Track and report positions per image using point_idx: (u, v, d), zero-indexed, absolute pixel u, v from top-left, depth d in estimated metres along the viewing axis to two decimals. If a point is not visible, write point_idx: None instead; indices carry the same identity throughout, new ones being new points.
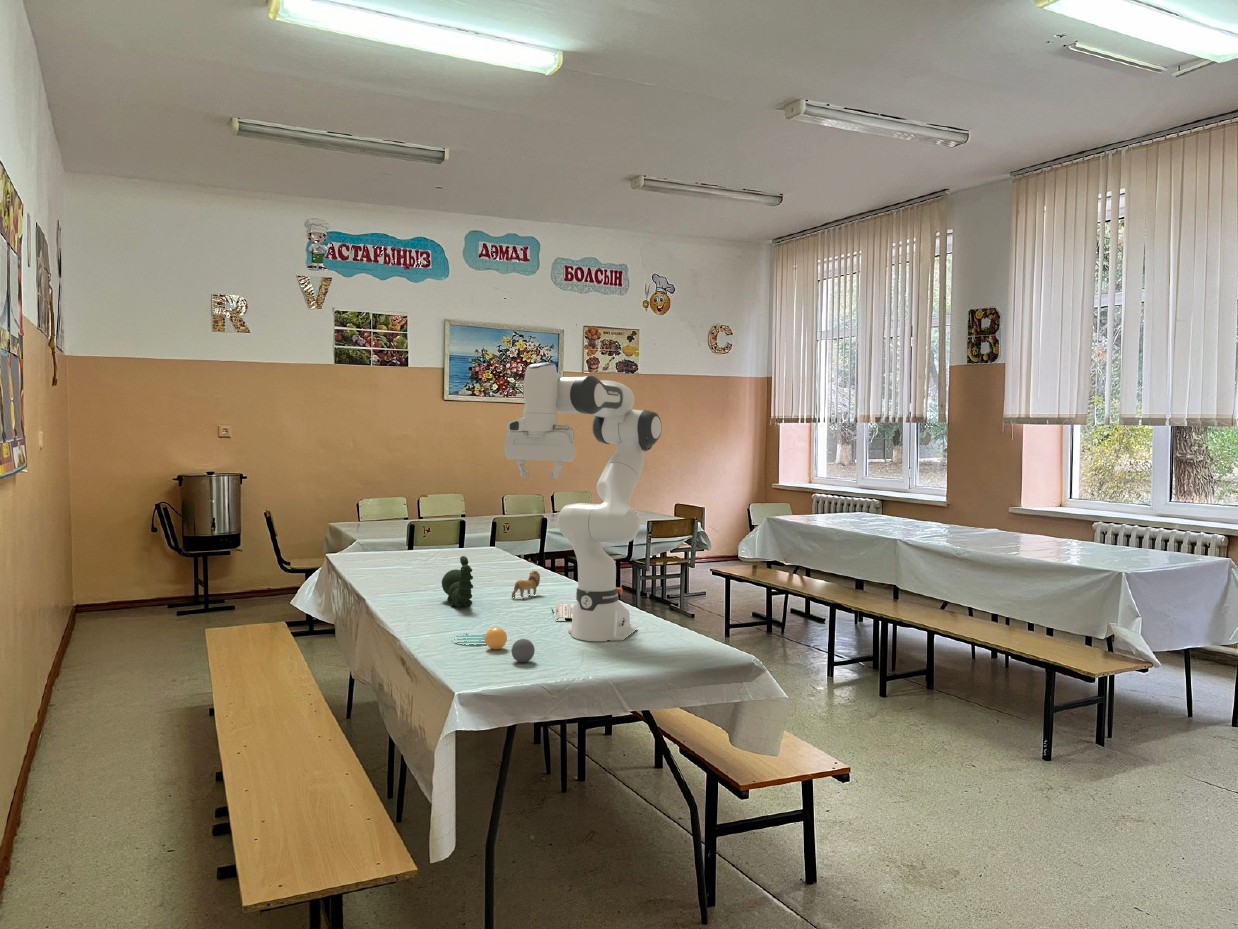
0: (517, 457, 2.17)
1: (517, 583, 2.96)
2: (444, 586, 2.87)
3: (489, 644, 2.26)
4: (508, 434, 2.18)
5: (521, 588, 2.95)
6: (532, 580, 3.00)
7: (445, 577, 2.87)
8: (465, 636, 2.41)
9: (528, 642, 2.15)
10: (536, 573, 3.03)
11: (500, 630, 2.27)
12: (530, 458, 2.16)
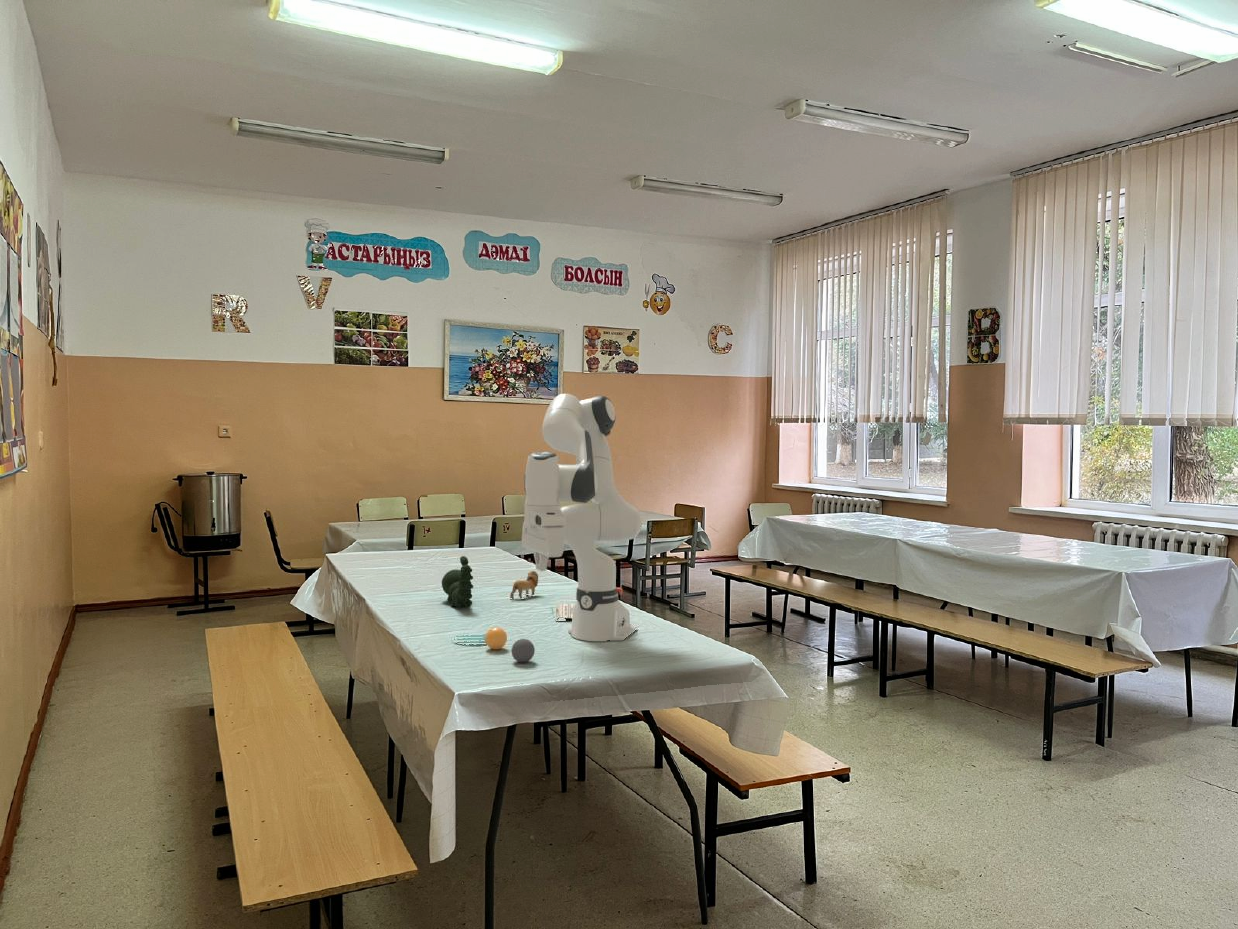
0: None
1: (515, 583, 2.95)
2: (444, 586, 2.87)
3: (489, 644, 2.26)
4: None
5: (519, 588, 2.95)
6: (530, 580, 2.99)
7: (445, 577, 2.87)
8: (465, 636, 2.41)
9: (528, 642, 2.15)
10: (535, 573, 3.02)
11: (500, 630, 2.27)
12: None
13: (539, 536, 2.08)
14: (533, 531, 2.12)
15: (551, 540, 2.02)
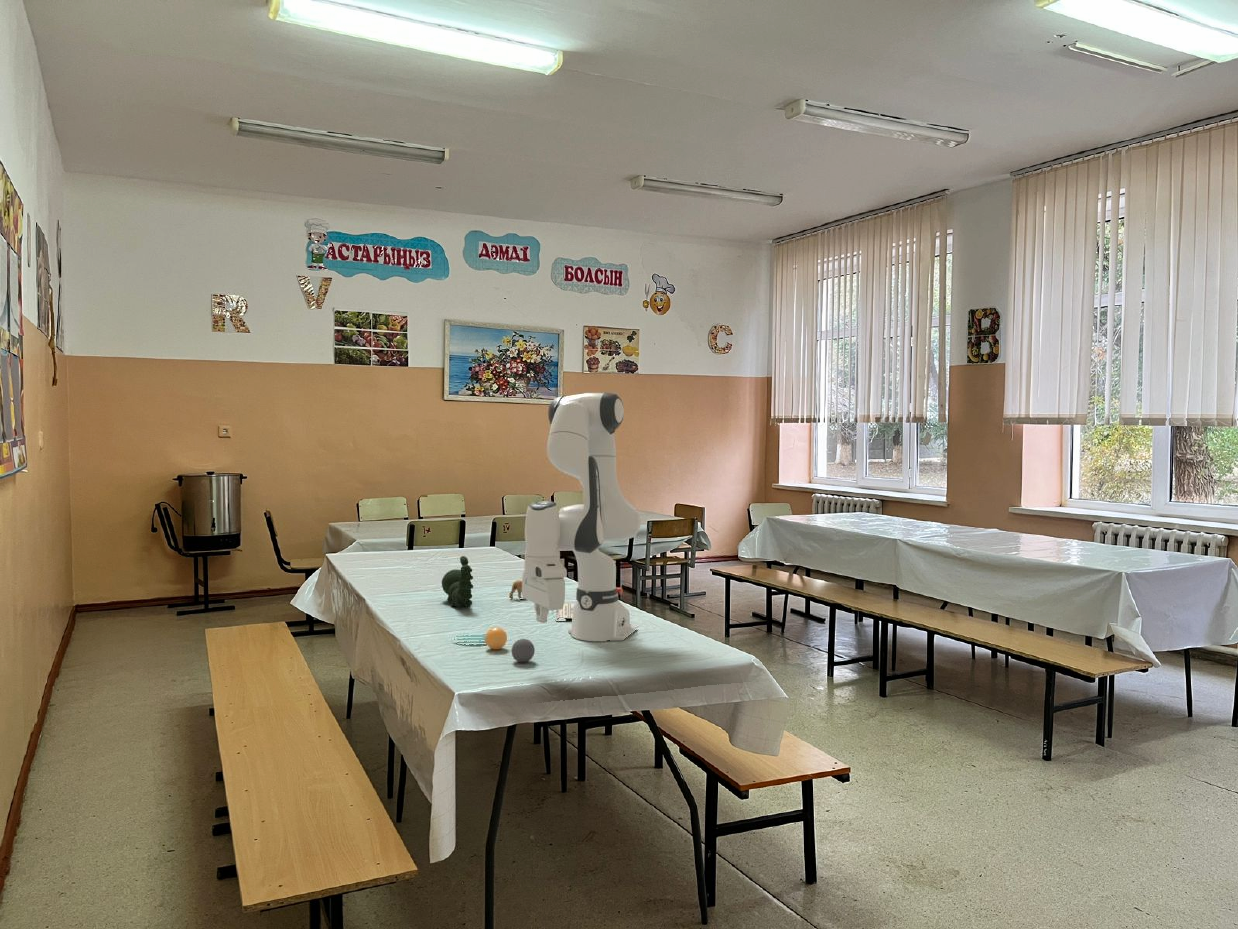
0: None
1: (515, 584, 2.94)
2: (444, 586, 2.87)
3: (489, 644, 2.26)
4: None
5: (519, 589, 2.94)
6: None
7: (445, 577, 2.87)
8: (465, 636, 2.41)
9: (528, 642, 2.15)
10: None
11: (500, 630, 2.27)
12: None
13: (539, 588, 2.05)
14: (533, 582, 2.09)
15: (552, 592, 1.99)
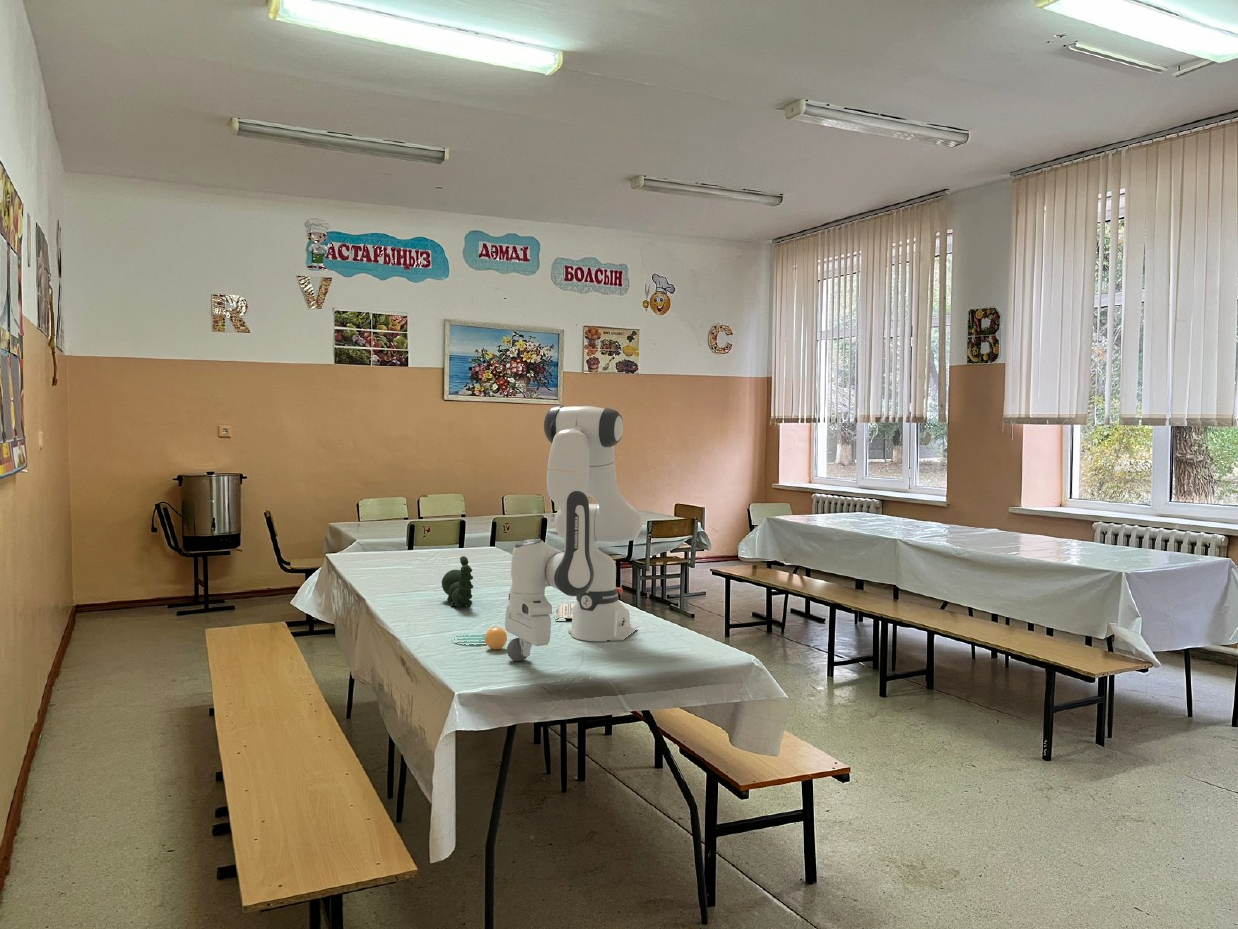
0: None
1: None
2: (444, 586, 2.87)
3: (489, 644, 2.26)
4: None
5: None
6: None
7: (445, 577, 2.87)
8: (465, 636, 2.41)
9: None
10: None
11: (500, 630, 2.27)
12: None
13: (525, 623, 2.12)
14: (518, 617, 2.15)
15: (538, 629, 2.05)
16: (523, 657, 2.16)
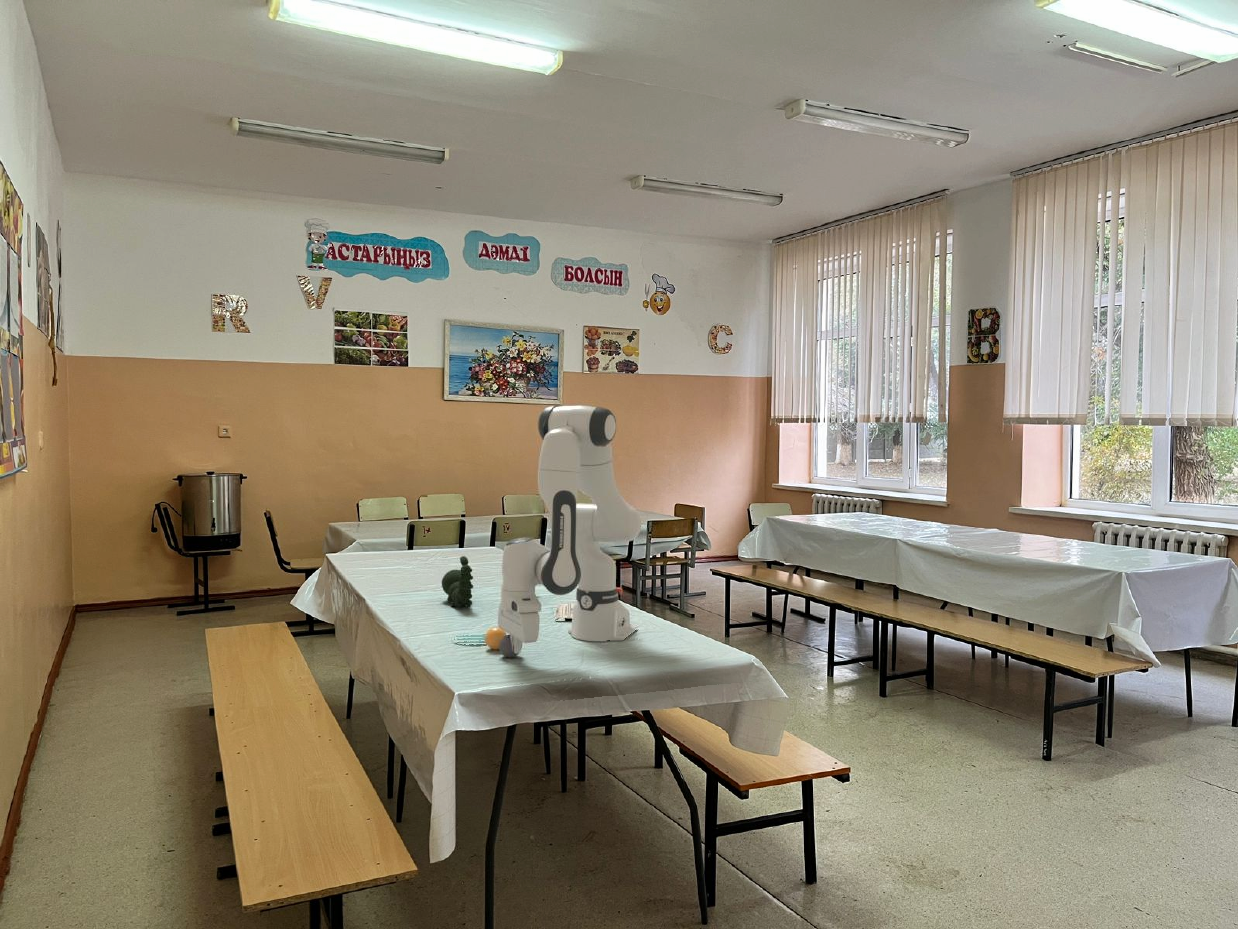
0: None
1: None
2: (444, 586, 2.87)
3: (489, 644, 2.26)
4: None
5: None
6: None
7: (445, 577, 2.87)
8: (465, 636, 2.41)
9: None
10: None
11: (500, 630, 2.27)
12: None
13: (515, 620, 2.15)
14: (509, 614, 2.18)
15: (527, 626, 2.08)
16: (514, 653, 2.19)
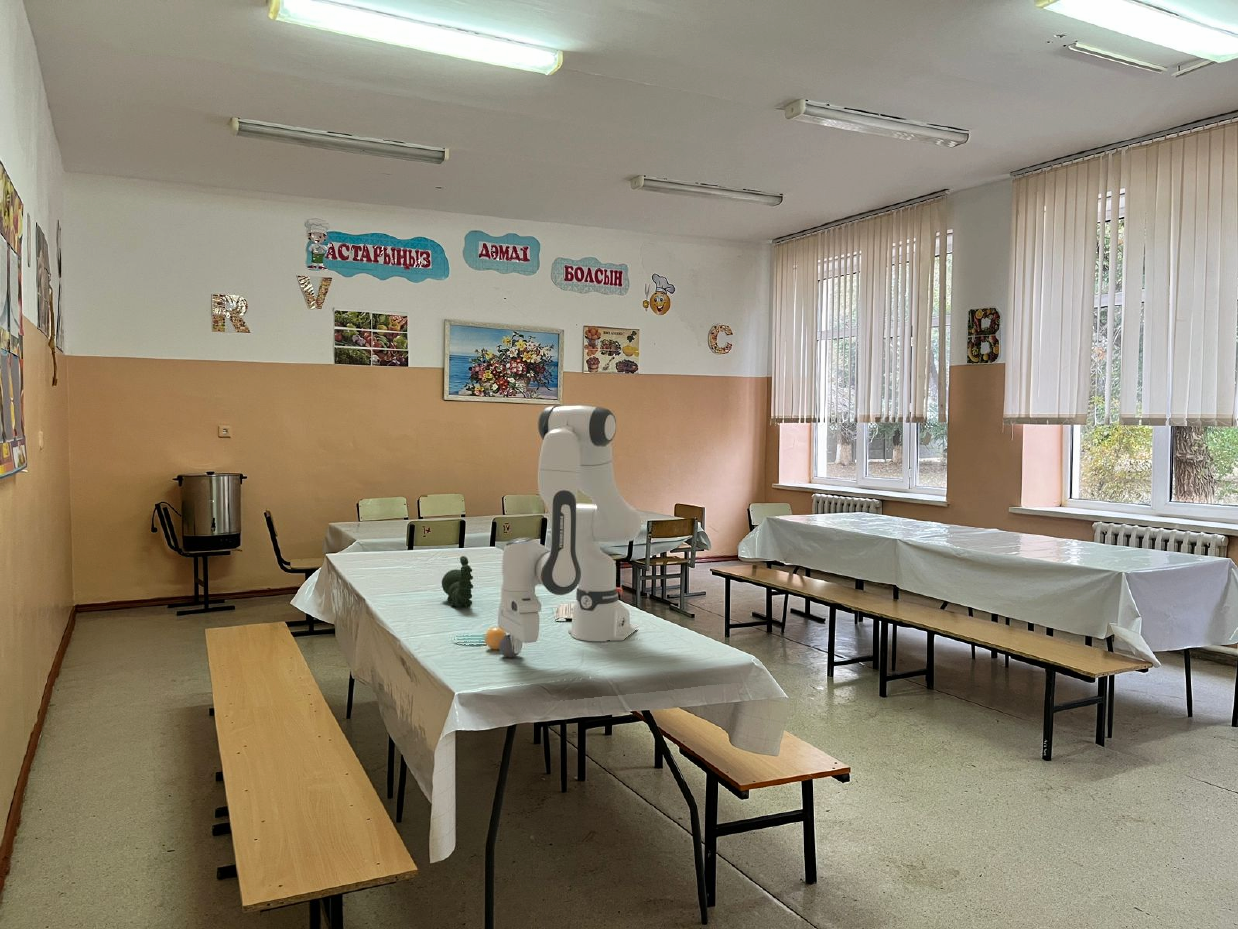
0: None
1: None
2: (444, 586, 2.87)
3: (489, 644, 2.26)
4: None
5: None
6: None
7: (445, 577, 2.87)
8: (465, 636, 2.41)
9: None
10: None
11: (500, 630, 2.27)
12: None
13: (515, 620, 2.15)
14: (509, 614, 2.18)
15: (526, 626, 2.08)
16: (514, 653, 2.19)
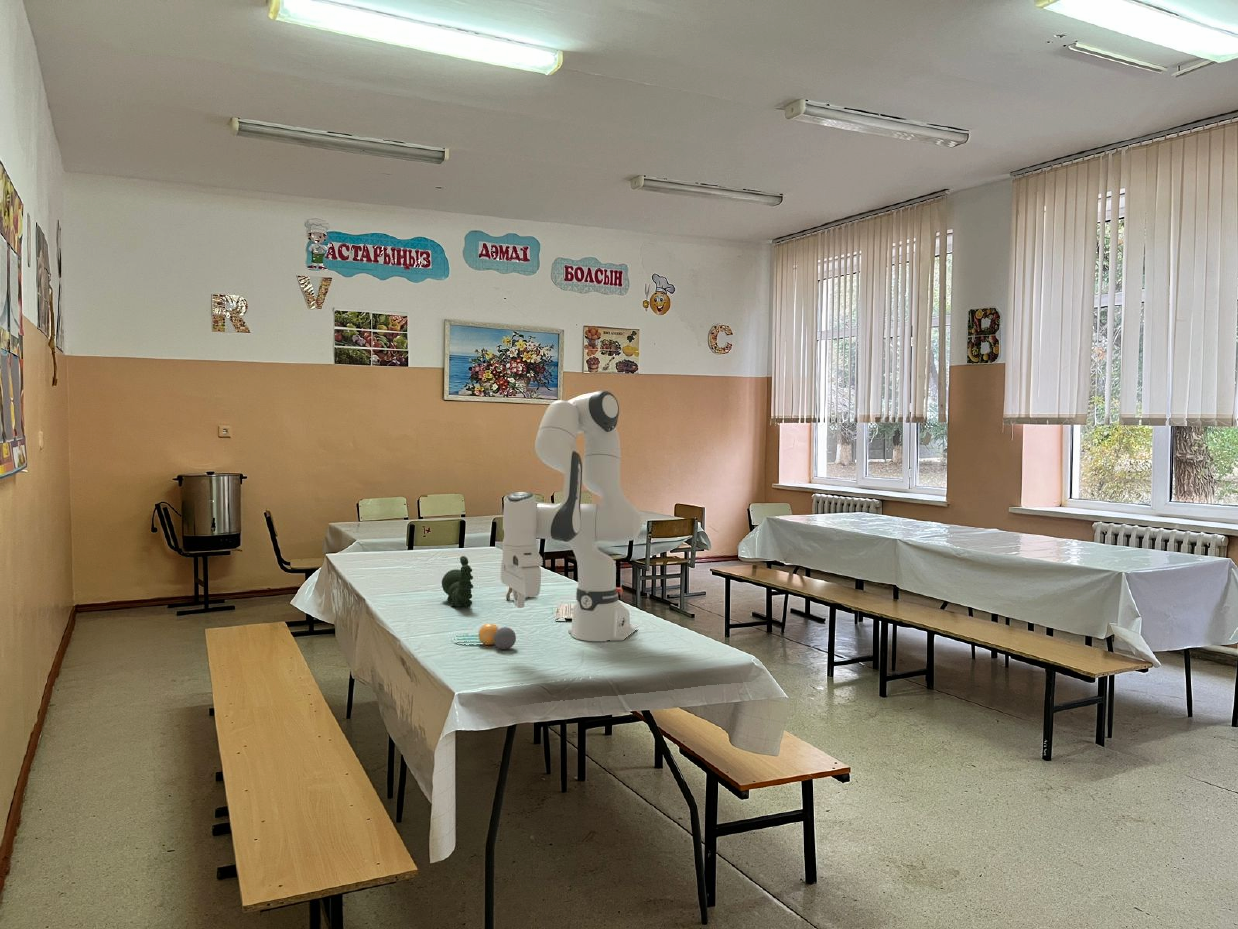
0: None
1: None
2: (444, 586, 2.87)
3: (482, 631, 2.31)
4: None
5: None
6: None
7: (445, 577, 2.87)
8: (465, 636, 2.41)
9: None
10: None
11: None
12: None
13: (517, 575, 2.15)
14: (511, 569, 2.19)
15: (528, 580, 2.09)
16: None
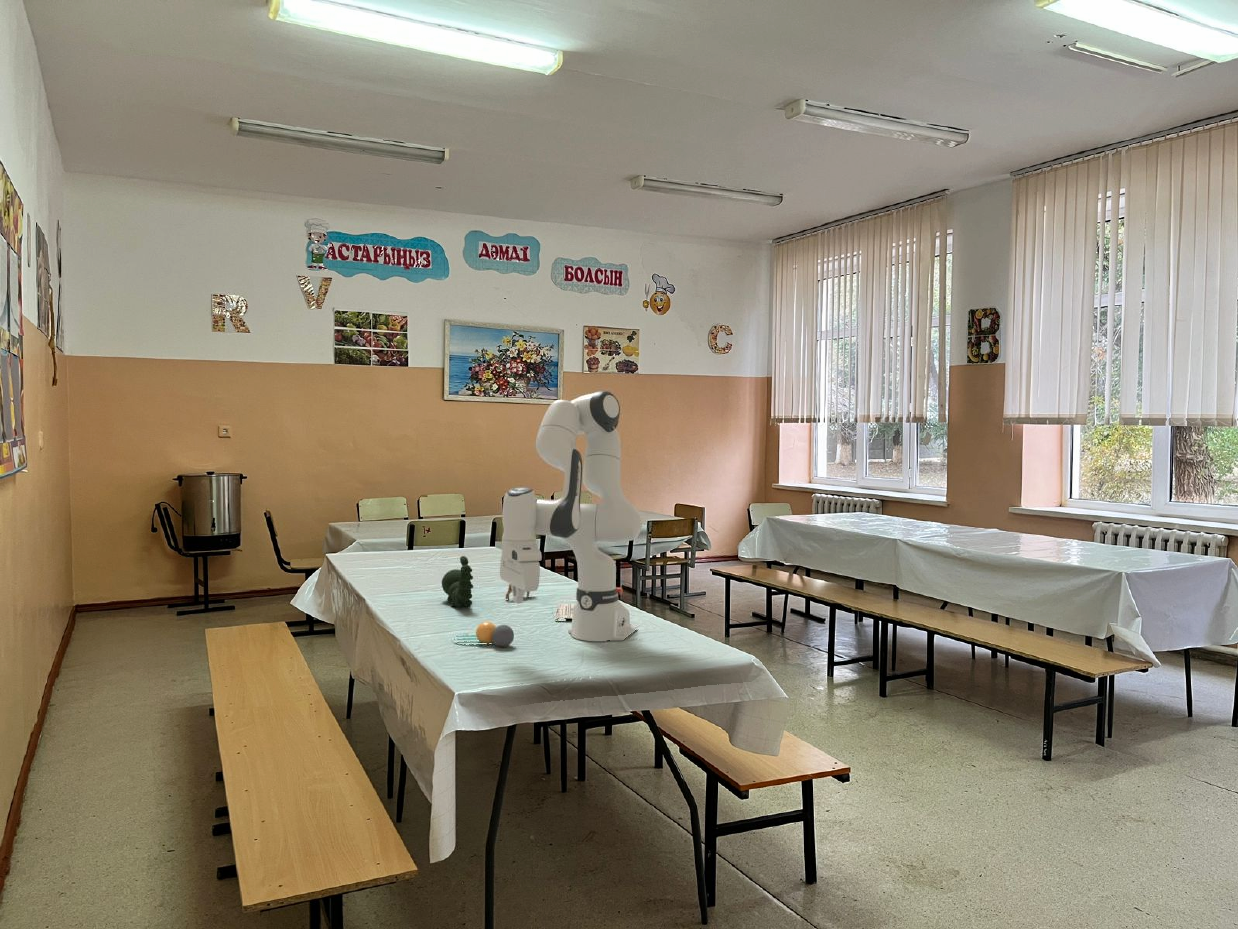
0: None
1: None
2: (444, 586, 2.87)
3: (478, 627, 2.34)
4: None
5: None
6: None
7: (445, 577, 2.87)
8: (465, 636, 2.41)
9: None
10: None
11: None
12: None
13: (516, 570, 2.15)
14: (510, 564, 2.19)
15: (527, 575, 2.09)
16: None
